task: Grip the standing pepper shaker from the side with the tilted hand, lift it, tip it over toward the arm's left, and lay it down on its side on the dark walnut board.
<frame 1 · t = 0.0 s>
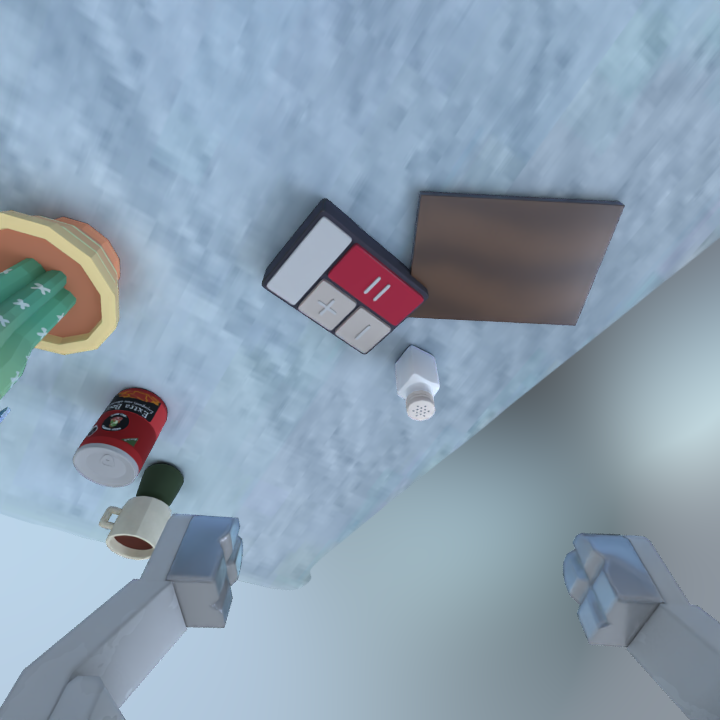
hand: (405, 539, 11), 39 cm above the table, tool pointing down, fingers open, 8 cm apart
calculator: (347, 276, 50), on the table, touching board
canned food: (142, 405, 62), on the table
board: (502, 261, 47), on the table
pepper shaker: (414, 358, 56), on the table
trophy: (166, 471, 72), on the table
potted cactus: (79, 256, 48), on the table
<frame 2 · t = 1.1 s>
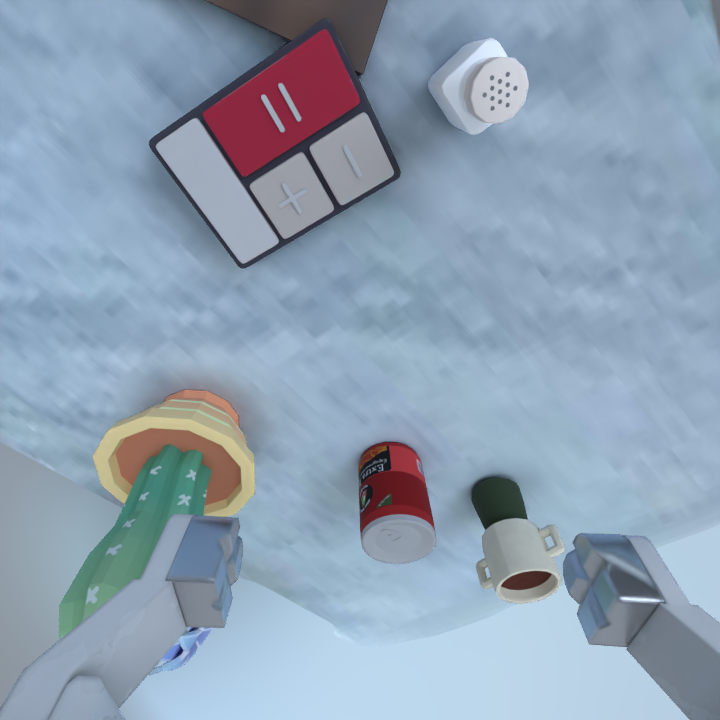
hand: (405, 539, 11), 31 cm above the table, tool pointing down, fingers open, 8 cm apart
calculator: (283, 152, 35), on the table, touching board
canned food: (389, 461, 54), on the table
pepper shaker: (460, 86, 32), on the table
trophy: (493, 488, 57), on the table
potted cactus: (200, 419, 49), on the table
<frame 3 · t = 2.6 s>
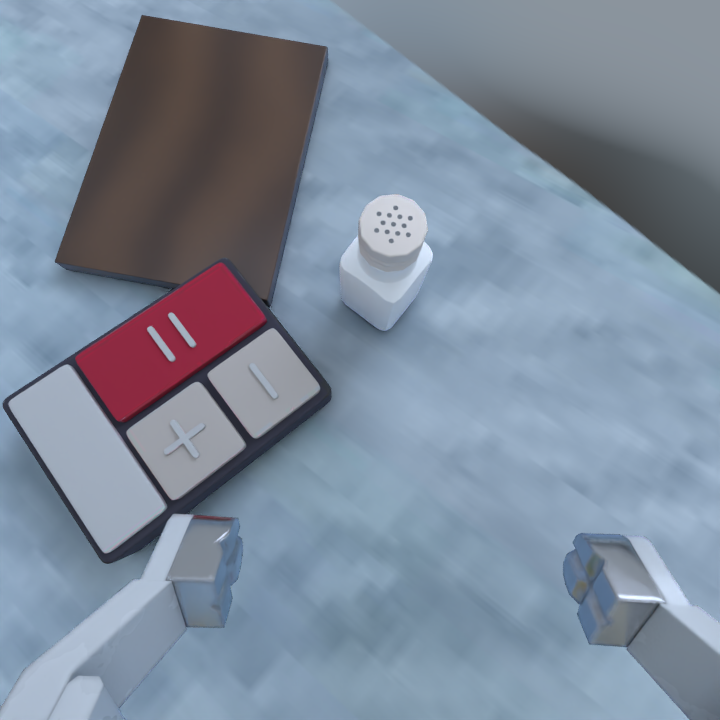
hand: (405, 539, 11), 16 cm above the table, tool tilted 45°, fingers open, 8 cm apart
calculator: (191, 404, 28), on the table, touching board
board: (205, 158, 31), on the table
pepper shaker: (379, 298, 29), on the table
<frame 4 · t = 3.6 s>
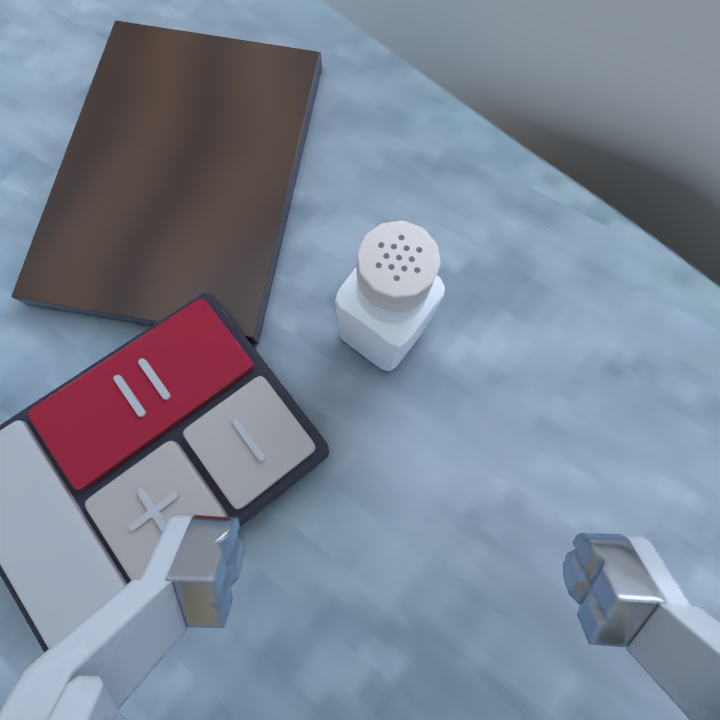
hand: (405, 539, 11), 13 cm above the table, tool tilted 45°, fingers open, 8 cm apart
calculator: (168, 459, 24), on the table, touching board
board: (185, 177, 28), on the table
pepper shaker: (381, 332, 26), on the table
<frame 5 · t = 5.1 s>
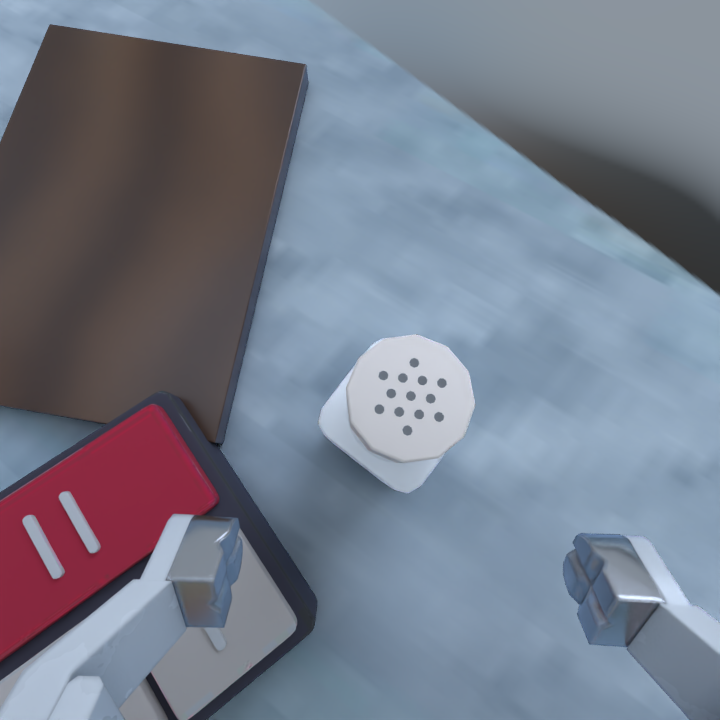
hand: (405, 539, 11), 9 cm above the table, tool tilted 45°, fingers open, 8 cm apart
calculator: (107, 602, 19), on the table, touching board
board: (134, 222, 22), on the table
pepper shaker: (382, 426, 20), on the table
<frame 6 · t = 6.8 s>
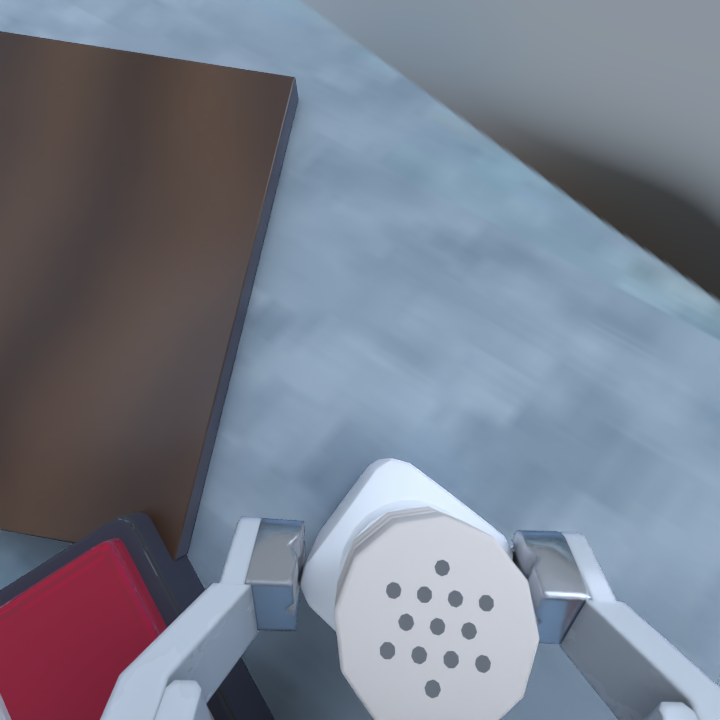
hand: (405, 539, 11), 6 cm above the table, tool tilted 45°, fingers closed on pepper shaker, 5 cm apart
board: (85, 270, 18), on the table
pepper shaker: (387, 529, 16), on the table, touching gripper
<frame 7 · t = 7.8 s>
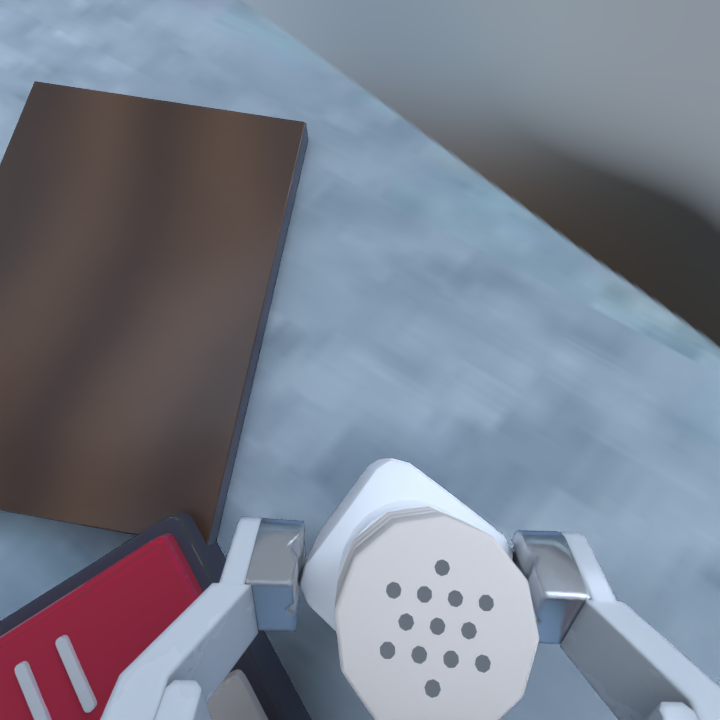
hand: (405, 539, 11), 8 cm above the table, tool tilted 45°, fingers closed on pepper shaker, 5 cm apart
board: (123, 294, 21), on the table
pepper shaker: (387, 529, 16), point 2 cm above the table, touching gripper
when the fingers open (6 cm above the table, at t = 15.6 s): pepper shaker moves 2 cm, resting on board.
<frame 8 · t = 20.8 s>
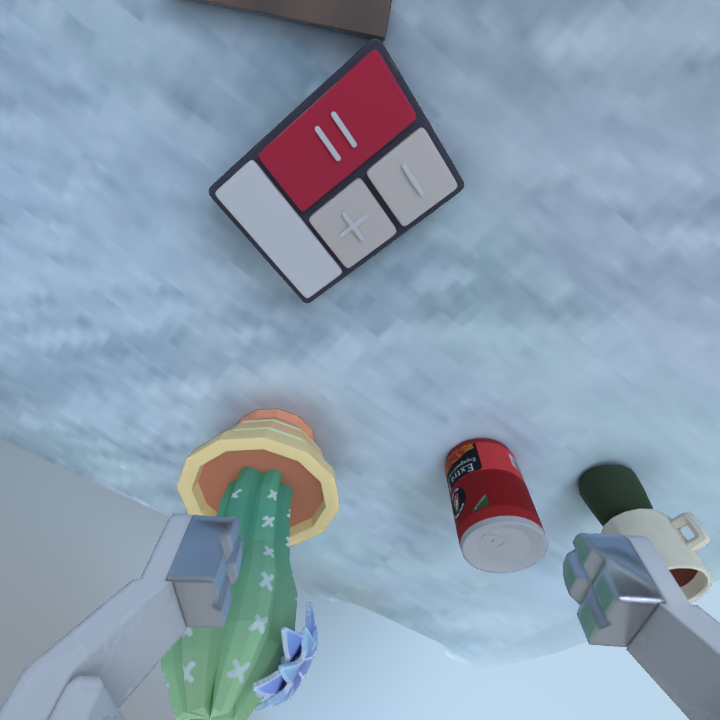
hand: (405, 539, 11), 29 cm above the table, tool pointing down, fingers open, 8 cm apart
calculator: (338, 181, 34), on the table
canned food: (478, 460, 49), on the table
trophy: (603, 477, 50), on the table
potted cactus: (275, 439, 48), on the table
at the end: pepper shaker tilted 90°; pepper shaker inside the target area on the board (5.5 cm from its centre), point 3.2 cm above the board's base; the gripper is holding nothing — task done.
